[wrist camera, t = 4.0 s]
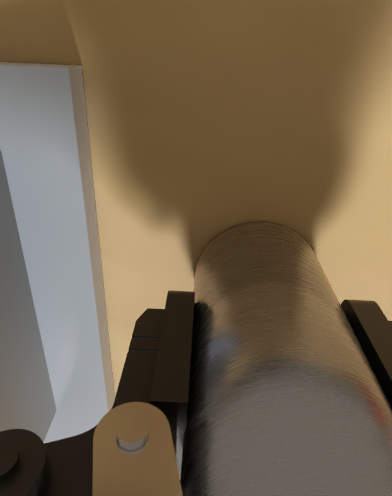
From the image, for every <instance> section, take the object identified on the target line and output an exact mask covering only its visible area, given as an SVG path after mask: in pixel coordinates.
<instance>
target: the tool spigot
mask: <svg viewBox="0 0 392 496" xmlns="http://www.w3.org/2000/svg"><path fill="white" fill-rule="evenodd" d="M194 292H195V305H194V321H193V337H192V353H191V369H190V385H189V401H188V417H187V427H186V430H185V433H184V439H183V450H182V464H181V478H180V483H181V488H182V494H183V496H392V408H391V406H390V404H389V402H388V400H387V398H386V396H385V394H384V392H383V390H382V388H381V386H380V384H379V382H378V380H377V378H376V376H375V374H374V372H373V370H372V368H371V366H370V364H369V362H368V360H367V358H366V356H365V354H364V352H363V350H362V348H361V346H360V344H359V342H358V340H357V338H356V336H355V334H354V332H353V330H352V328H351V326H350V324H349V322H348V320H347V318H346V316H345V314H344V312H343V310H342V308H341V305H340V303H339V301H338V299H337V297H336V295H335V293H334V291H333V289H332V287H331V285H330V283H329V281H328V279H327V277H326V275H325V273H324V271H323V269H322V267H321V265H320V263H319V261H318V259H317V257H316V255H315V253H314V251H313V249H312V248H311V246H310V245H309V244H308V242H307V241H306V240H305V239H304V238H303V237H302V236H300V235H299V234H298V233H296V232H295V231H293V230H291V229H289V228H287V227H284V226H281V225H278V224H274V223H266V222H253V223H246V224H242V225H238V226H235V227H233V228H230V229H228V230H226V231H224V232H222V233H221V234H219V235H218V236H216V237H215V238H214V239H213V240H212V241H211V242H210V243H209V244H208V245H207V246H206V247H205V249H204V250H203V252H202V253H201V255H200V257H199V259H198V262H197V265H196V270H195V281H194Z"/></svg>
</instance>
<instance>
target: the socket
mask: <svg viewBox="0 0 392 496" xmlns="http://www.w3.org/2000/svg"><path fill="white" fill-rule="evenodd" d="M114 401H115V395H114V385H113V375H112V365H111V355H110V345H109V335H108V325H107V315H106V305H105V295H104V285H103V275H102V265H101V255H100V245H99V235H98V225H97V215H96V205H95V195H94V185H93V175H92V165H91V155H90V145H89V135H88V125H87V115H86V105H85V95H84V85H83V75H82V65H59V64H34V63H10V62H0V432H1V431H4V430H9V429H26V430H29V431H32V432H34V433H35V434H37V435H38V436H39V437H40V438H41V440H42V441H43V442H52V441H56V440H60V439H64V438H68V437H72V436H76V435H79V434H82V433H84V432H86V431H88V430H90V429H92V428H93V427H95V426H96V425H97V424H98V423H99V421H100V420H101V419H102V417H103V416H104V415H105V414H106V413H108V412H109V411H110V410H111V408H112V407H113V404H114Z"/></svg>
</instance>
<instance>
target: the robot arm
mask: <svg viewBox="0 0 392 496" xmlns="http://www.w3.org/2000/svg"><path fill="white" fill-rule="evenodd" d="M194 305H195V292H186V291H168V295H167V300H166V306H165V309H147V310H146V311H145V312H144V313H143V314H142V315H141V316H140V317H139V318H138V319H137V321H136V324H135V327H134V331H133V335H132V339H131V342H130V346H129V352H128V353H127V357H126V361H125V364H124V368H123V372H122V375H121V379H120V383H119V386H118V390H117V394H116V397H115V401H114V404H113V407H112V408H111V410H110V411H109V412H108V413H106V414H105V415H104V416H103V417H102V419H101V420H100V421H99V423H98V424H97V425H96V426H95V427H93V428H92V429H90V430H88V431H86V432H84V433H82V434H79V435H76V436H72V437H68V438H64V439H60V440H56V441H52V442H48V443H43V441H42V440H41V438H40V437H39V436H38V435H37V434H35V433H34V432H32V431H29V430H26V429H9V430H4V431H1V432H0V496H183V494H182V488H181V483H180V478H179V476H181V464H182V450H183V439H184V433H185V430H186V427H187V417H188V401H189V385H190V369H191V353H192V337H193V321H194ZM341 308H342V310H343V312H344V314H345V316H346V318H347V320H348V322H349V324H350V326H351V328H352V330H353V332H354V334H355V336H356V338H357V340H358V342H359V344H360V346H361V348H362V350H363V352H364V354H365V356H366V358H367V360H368V362H369V364H370V366H371V368H372V370H373V372H374V374H375V376H376V378H377V380H378V382H379V384H380V386H381V388H382V390H383V392H384V394H385V396H386V398H387V400H388V402H389V404H390V406H391V408H392V321H388V320H387V318H386V317H385V315H384V314H383V312H382V310H381V309H380V307H379V306H378V304H377V303H376V302H374V301H362V300H344V301H343V302H342V303H341Z"/></svg>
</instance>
